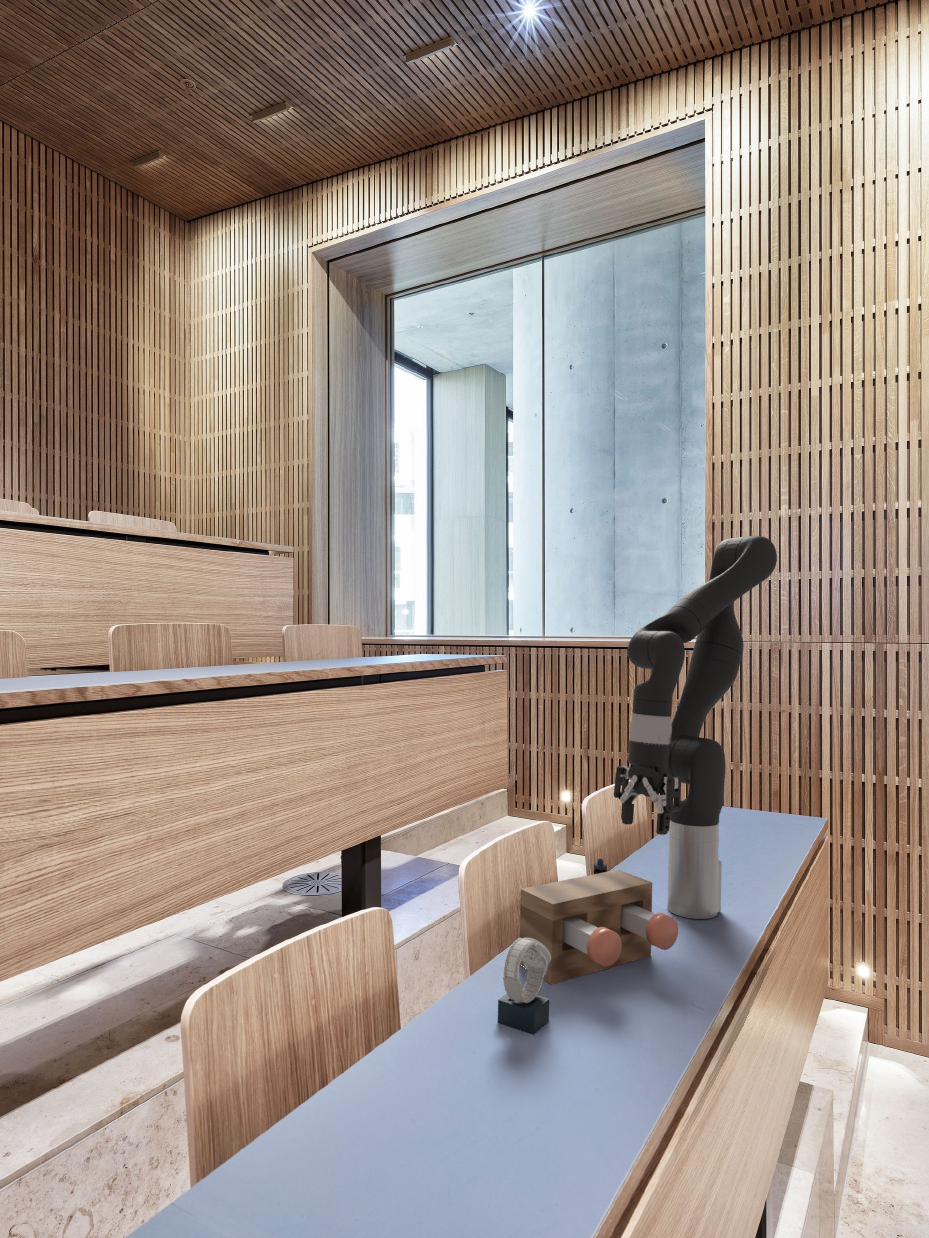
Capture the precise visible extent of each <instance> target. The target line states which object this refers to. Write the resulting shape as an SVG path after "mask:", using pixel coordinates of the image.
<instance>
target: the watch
mask: <svg viewBox="0 0 929 1238" xmlns="http://www.w3.org/2000/svg"><path fill="white" fill-rule="evenodd" d="M521 961H522V962H523V963H524V966H525V968H526V969H525V968H524V969H525V970H526V971H528V972H527V977H526V980H525V983H524V985H523V987H522V983H521V982H522V981H521V980H520V979H519V970H520V967H521V966H520V963H521ZM550 961H551V955H550V952H549V951H548V949H547V948H546V947H545V946H544V945H543V944H542V943H540V942H539V941H537V940H535V939H532V938H527V937H525V938H520V937H518V938H517V939H515V940H514V941H513V943H512V944H511V946H510V947H509V948H508V951H507V955H506V958H505V962H504V967H503V977H502V979H503V981H502V982H503V985H504V989H505V992H506V993H505V994H504V995H503V996H501V997H499V998H498V1000H497V1024H500V1025H502V1026H505V1027H508V1028H511V1029H514V1030H518V1031H521V1032H523V1033H527V1034H530V1035H532V1036H535V1035H536V1034H537V1033H538V1032H539V1031H540V1030H542V1028H544V1027H545V1026H546V1025H547V1024H549V1023H550V998H549V997H544V996H541V995H539V992H540V989H541V987H542V984H543V981H544V980H543V978H544V975H546V973H547V969H548V965H549V962H550ZM528 969H529V970H528Z"/></svg>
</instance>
